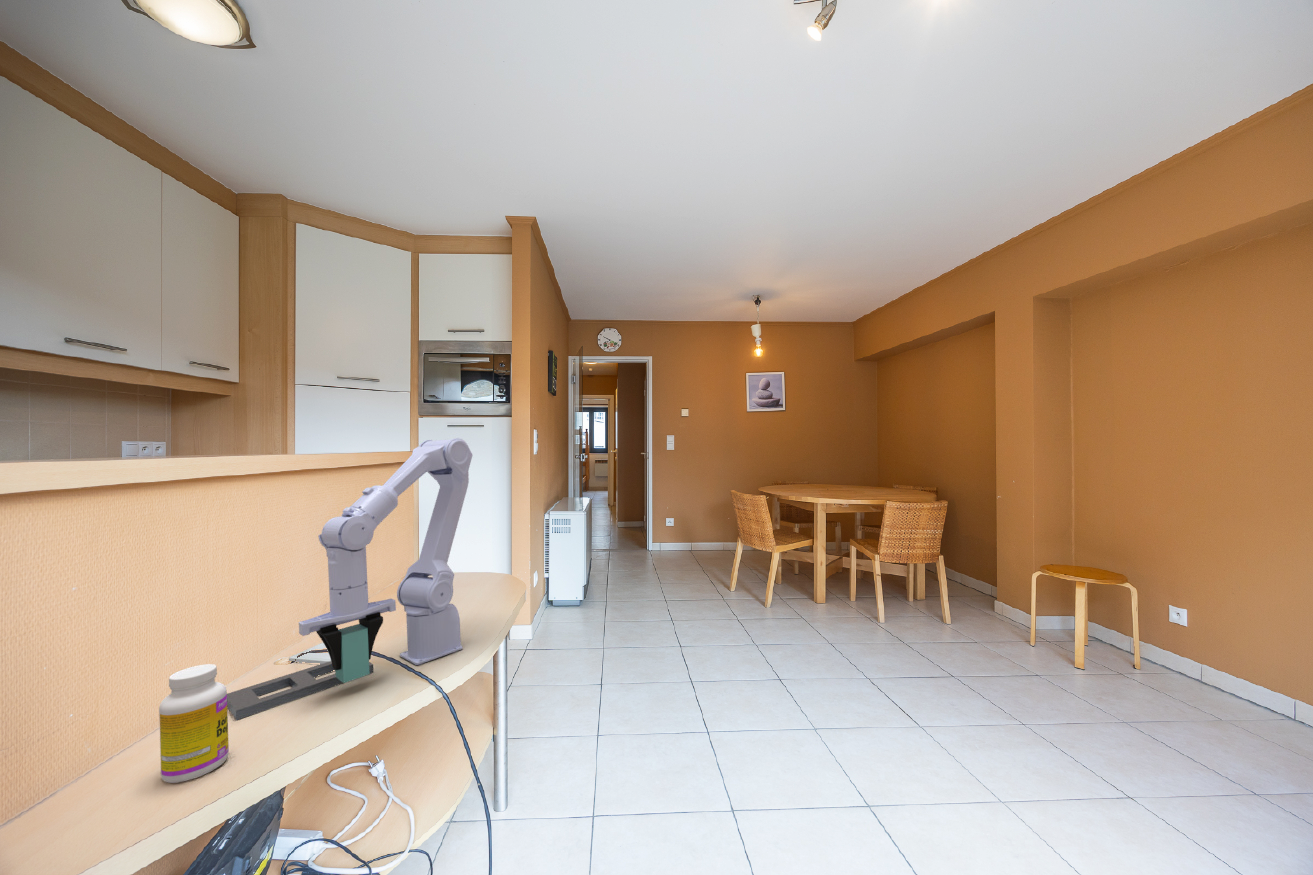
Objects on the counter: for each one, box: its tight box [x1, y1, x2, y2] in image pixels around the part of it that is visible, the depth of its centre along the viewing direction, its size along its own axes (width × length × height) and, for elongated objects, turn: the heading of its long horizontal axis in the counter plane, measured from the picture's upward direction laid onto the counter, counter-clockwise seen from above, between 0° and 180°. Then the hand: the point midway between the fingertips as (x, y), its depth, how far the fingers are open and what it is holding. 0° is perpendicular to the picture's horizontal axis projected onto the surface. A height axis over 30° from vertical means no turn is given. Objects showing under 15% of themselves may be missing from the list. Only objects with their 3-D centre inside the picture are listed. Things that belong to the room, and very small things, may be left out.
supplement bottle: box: [158, 663, 230, 784], centre depth 66 cm, size 7×7×13 cm
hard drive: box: [288, 642, 331, 664], centre depth 103 cm, size 2×8×12 cm
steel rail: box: [227, 661, 375, 721], centre depth 89 cm, size 20×9×2 cm, turn 140°
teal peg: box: [334, 623, 371, 684], centre depth 87 cm, size 4×4×8 cm
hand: (352, 663), depth 87 cm, fingers closed on teal peg, 4 cm apart
